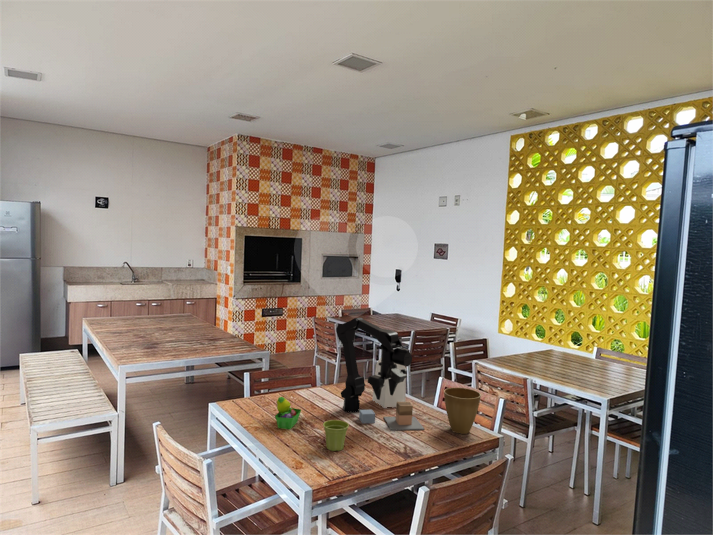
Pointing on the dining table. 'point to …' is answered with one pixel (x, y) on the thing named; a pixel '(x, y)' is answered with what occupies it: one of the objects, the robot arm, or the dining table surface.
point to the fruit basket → (286, 414)
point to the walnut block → (404, 408)
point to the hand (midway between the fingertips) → (385, 397)
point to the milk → (385, 396)
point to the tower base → (403, 427)
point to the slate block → (367, 416)
